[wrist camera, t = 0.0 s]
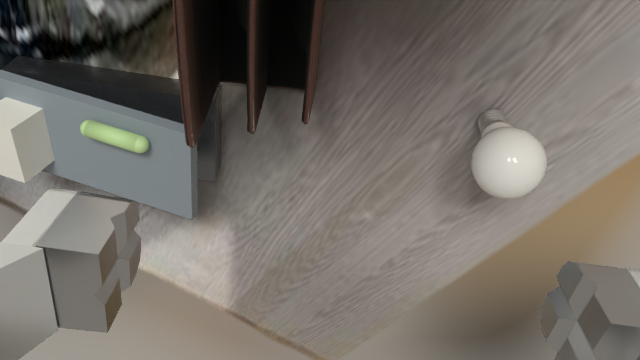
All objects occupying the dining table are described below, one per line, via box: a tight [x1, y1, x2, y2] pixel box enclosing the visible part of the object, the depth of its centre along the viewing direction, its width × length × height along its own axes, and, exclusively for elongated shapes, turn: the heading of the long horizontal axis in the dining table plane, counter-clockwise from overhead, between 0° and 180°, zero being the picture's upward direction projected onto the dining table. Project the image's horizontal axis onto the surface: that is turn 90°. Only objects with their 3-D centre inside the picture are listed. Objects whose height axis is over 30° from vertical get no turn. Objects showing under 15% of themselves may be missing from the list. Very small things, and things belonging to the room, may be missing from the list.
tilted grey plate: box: [0, 70, 198, 220], centre depth 48 cm, size 10×20×5 cm, turn 82°
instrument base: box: [2, 56, 222, 182], centre depth 53 cm, size 10×20×3 cm, turn 82°
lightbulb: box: [471, 109, 547, 199], centre depth 48 cm, size 6×6×11 cm
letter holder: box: [173, 0, 325, 148], centre depth 40 cm, size 10×20×14 cm, turn 174°
